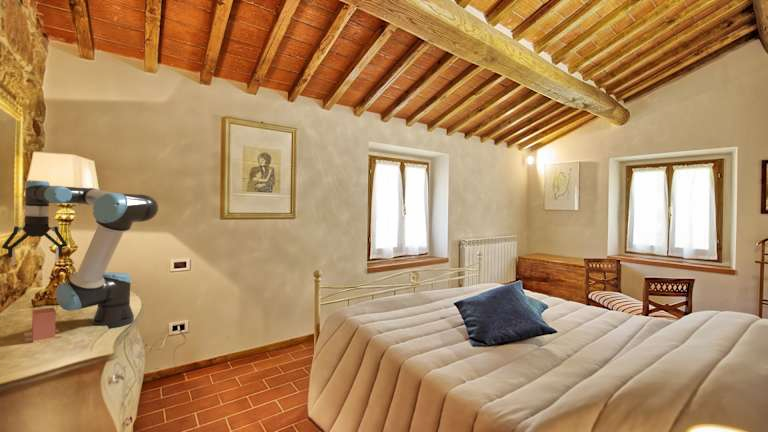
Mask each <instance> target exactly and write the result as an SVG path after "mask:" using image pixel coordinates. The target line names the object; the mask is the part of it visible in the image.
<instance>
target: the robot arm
mask: <svg viewBox="0 0 768 432" xmlns="http://www.w3.org/2000/svg"><path fill="white" fill-rule="evenodd" d="M50 184H51V183H50V182H49V181H45V180H26V182H25V188H24V215H25V216H24V225H23V227H22V226H17V225H16V226H14V227H13V231H12V233H11V234H10V235H9V236H8V238H7V239H6V240H5V241H4V243H3V244H2V246H1V248H2V249H4V250H7V251H8V252H7V257H8V258H11V266H15V263H16V262H15V259H16V257H15V255H16V248H15V247H17V246H18V245H19V244H21V243H22V242H23V241H24V240H25V239H27V238H28V237H30V238H36V237H38V238H41V237H44V236H45V237H46V238H47V239H48V240H49V241H51V242H52V244H54V245H55V246H56V247H55V259H54V262H55V264H57V263H59V256H62V254H63V248H65V247H67V246H68V243H67V242H66V240H65V239H64V237H63V236H62V234H61V233H60V231H59V227H58V226H51V227H50V225H49V224H50V223H49V220H50V218H49V214H50V204H54V205H56V204H57V205H58V204H59V205H60V204H69V205H70V204H76V205H77V204H79V205H88V206H93V207H92V210H93V212H92V215H93V217H94V219H95V222H96V225H98V226H97V228H96V230H95V232H94V234H93V237H92V239H91V241H90V242H89V245H88V247H87V250H86V252H85V255H84V257H83V258H82V261H81V264H80V266H79V267H78V269H77V270H78V271H77V272H76V271H75V272H73V273H72V274H71V275H70V277H69V279H68V281H67V282H63V283H60V284H59V285H58V286H57V287H56V289H55V298H56V300H57V301H56V302H57V303H58V306H59V307H60V308H61V309H63V310H65V311H68V312H72V311H80V310H82V309H86V308H90V307H94V306H97V308H96V311H95V313H94V316H93V318H92V320H91V324H92V325H94V326H98V327H99V326H101V327H103V326H104V327H107V328H108V329H113V328H119V327H123V326H126V325H129V324H131V323H134V321H135V315H134V312H133V309H132V307H131V305H130V304H131V283H132V281H131V275H130V274H128V273H124V272H106V271H107V269H108V267H109V265H110V262H111V260H112V258H113V256H114V254H115V251H116V249H117V247H118V245H119V243H120V240H121V238H122V237H123V235H124V232H128V231H129V230H131V227H132V225H133V223H138V222H139V223H142V222H143V223H144V222H147V221H149V220H152V219H154V217H155V216H156V215H157V214H158V211H159V205H158V202H157V201H156V199H154V197H151V196H149V195H146V194H137V193H136V194H135V193H133V194H132V193H121V192H110V191H105V190H101V189H99V188H95V187H75V186H63V185H50ZM50 230H51V231H52V232H54V234H55V235H56V236H57V238H58V239H59V241H60V242H61V244H60V243H59V242H58V241H57V240H55V238H53V237H52V236H51V235H50V234H49V233H48V232H50ZM21 231H23V232H24V234H23V235H22V236H21V237H19V238H18V239H17V240H16V241H14V242H13V243H12V240H13V239H14V238H15V236H17V234H18V233H20V232H21ZM10 243H12V244H11V245H10Z"/></svg>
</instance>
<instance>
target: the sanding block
mask: <svg viewBox="0 0 768 432" xmlns="http://www.w3.org/2000/svg"><path fill="white" fill-rule="evenodd" d="M56 313H57V312H56V310H55V307H53V306H52V307H47V308H40V309H32V318H31V319H32V322H31V325H32V326H31V331H32V339H33V343H32V344H35V343H34V342H37V343H40V342H39V341H42V342H46V341H45V340H48V341H51V340H50V339H53V340H56V339H55V328H56V319H57V318H56Z"/></svg>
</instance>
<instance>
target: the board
mask: <svg viewBox="0 0 768 432" xmlns="http://www.w3.org/2000/svg"><path fill="white" fill-rule="evenodd" d="M23 338H24V344H25V345H29V344H30V345H31V344H36V343H42V342H43V341H39V342H34V343H33V339H32V330H31V331H26V332H23ZM62 338H63V337H62V334H61V332H60V329H59V327H58V326H57V327H56V326H55V339H50V340H45V341H44V342H47V341H51V340H57V339H62Z"/></svg>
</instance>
